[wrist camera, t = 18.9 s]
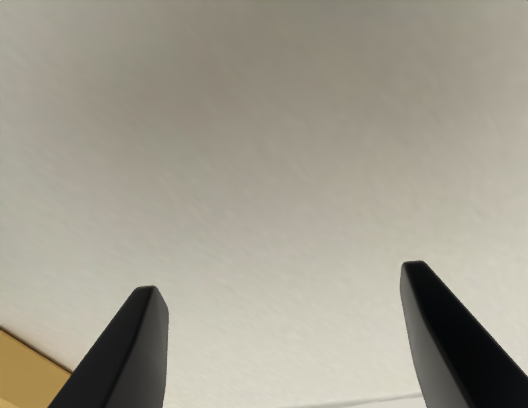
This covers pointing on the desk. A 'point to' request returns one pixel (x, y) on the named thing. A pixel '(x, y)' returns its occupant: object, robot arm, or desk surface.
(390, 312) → the desk surface
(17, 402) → the rubber stamp
